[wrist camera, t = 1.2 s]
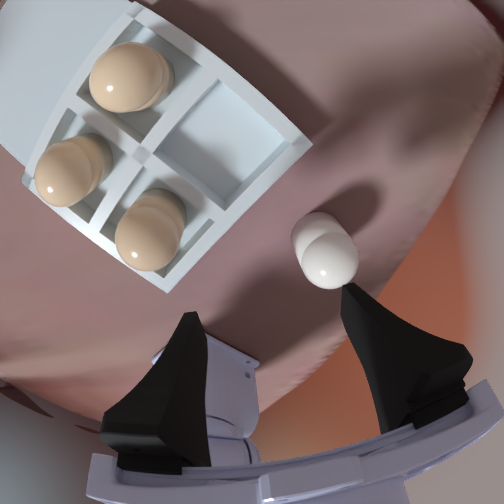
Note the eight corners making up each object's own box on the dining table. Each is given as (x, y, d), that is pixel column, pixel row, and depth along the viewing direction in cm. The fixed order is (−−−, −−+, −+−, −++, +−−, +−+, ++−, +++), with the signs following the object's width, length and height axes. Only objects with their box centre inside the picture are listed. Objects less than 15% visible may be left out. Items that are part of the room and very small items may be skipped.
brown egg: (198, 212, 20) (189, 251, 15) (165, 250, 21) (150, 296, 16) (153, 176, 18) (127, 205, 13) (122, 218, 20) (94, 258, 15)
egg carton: (303, 139, 18) (313, 144, 16) (172, 274, 23) (167, 293, 21) (41, -38, 6) (27, -44, 4) (-39, 98, 11) (-55, 102, 9)
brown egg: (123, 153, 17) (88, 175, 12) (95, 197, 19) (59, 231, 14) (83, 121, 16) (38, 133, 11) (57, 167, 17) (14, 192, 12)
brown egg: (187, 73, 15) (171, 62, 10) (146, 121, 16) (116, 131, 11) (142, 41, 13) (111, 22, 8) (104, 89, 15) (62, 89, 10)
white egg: (349, 234, 23) (378, 272, 18) (313, 266, 24) (333, 310, 19) (318, 201, 21) (346, 235, 16) (280, 237, 22) (295, 280, 17)
